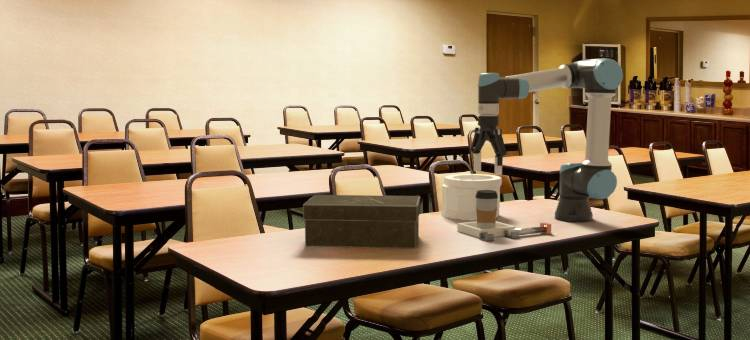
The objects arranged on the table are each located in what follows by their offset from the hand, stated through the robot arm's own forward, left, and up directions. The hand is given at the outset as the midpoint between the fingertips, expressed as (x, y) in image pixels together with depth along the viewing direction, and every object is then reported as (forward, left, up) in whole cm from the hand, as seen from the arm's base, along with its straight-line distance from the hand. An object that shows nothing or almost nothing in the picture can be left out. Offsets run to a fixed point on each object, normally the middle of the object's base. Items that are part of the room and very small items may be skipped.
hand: (487, 172), depth 292 cm
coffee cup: (0, 0, -22) cm, 22 cm away
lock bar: (-10, +11, -22) cm, 27 cm away
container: (-17, -35, -23) cm, 45 cm away
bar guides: (+2, +11, -22) cm, 25 cm away
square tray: (0, 0, -22) cm, 23 cm away
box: (+47, -8, -23) cm, 53 cm away
